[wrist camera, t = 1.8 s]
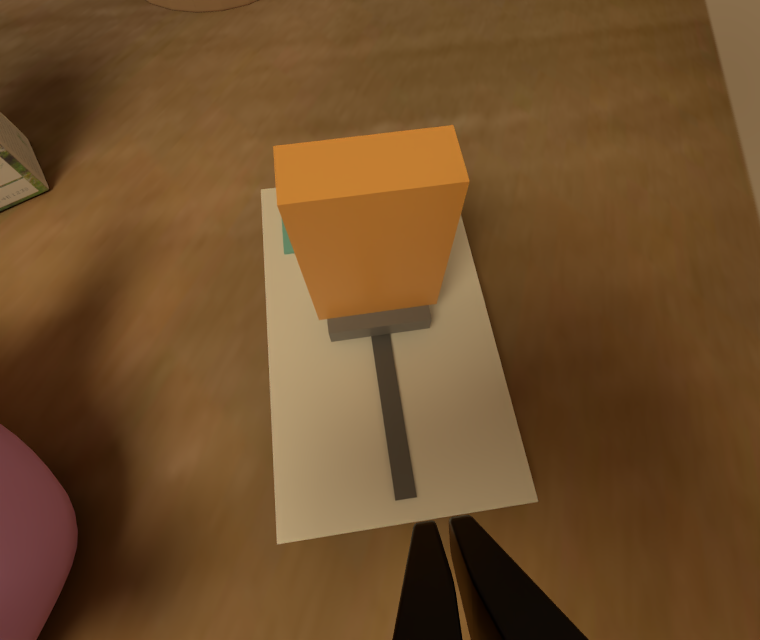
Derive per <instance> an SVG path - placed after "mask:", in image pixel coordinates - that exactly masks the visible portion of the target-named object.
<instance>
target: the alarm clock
mask: <svg viewBox="0 0 760 640" xmlns="http://www.w3.org/2000/svg"><path fill="white" fill-rule="evenodd" d="M146 1H147V2H149V3H151V4H153V5H157V6H160V7H163V8H167V9H170V10H174V11H185V12H196V13H199V12H213V11H224V10H228V9H233V8H237V7H241V6H245V5H249V4H251V3H254V2H256V1H258V0H146Z"/></svg>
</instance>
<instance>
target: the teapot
mask: <svg viewBox="0 0 760 640" xmlns="http://www.w3.org/2000/svg"><path fill="white" fill-rule="evenodd" d="M77 542H78V528H77V522H76V515H75V511H74V509H73V506H72V504H71V501H70V499H69V496H68V494H67V493H66V491H65V490H64V488H63V487H62V486H61V484H60V483H59V482H58V480H57V479H56V477H55V476H54V475H53V473H52V472H51V471H50V469H49V468H48V467H47V466H46V465H45V464H44V462H43V461H42V460H41V459H40V458H39V457H38V456H37V455H36V454H35V452H34V451H33V450H32V449H30V448H29V447H28V446H27V445H26V444H25V443H24V442H23V441H22V440H21V439H20V438H18V437H17V436H16V435H15V434H14V433H12V432H11V431H10V430H8V429H7V428H5V427H4V426H3V425H1V424H0V640H37V638H38V636H39V634H40V632H41V630H42V628H43V626H44V624H45V623H46V621H47V619H48V617H49V615H50V613H51V611H52V609H53V607H54V605H55V603H56V601H57V599H58V597H59V595H60V593H61V591H62V588H63V586H64V584H65V581H66V579H67V577H68V574H69V572H70V570H71V567H72V564H73V561H74V557H75V553H76V549H77Z"/></svg>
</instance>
